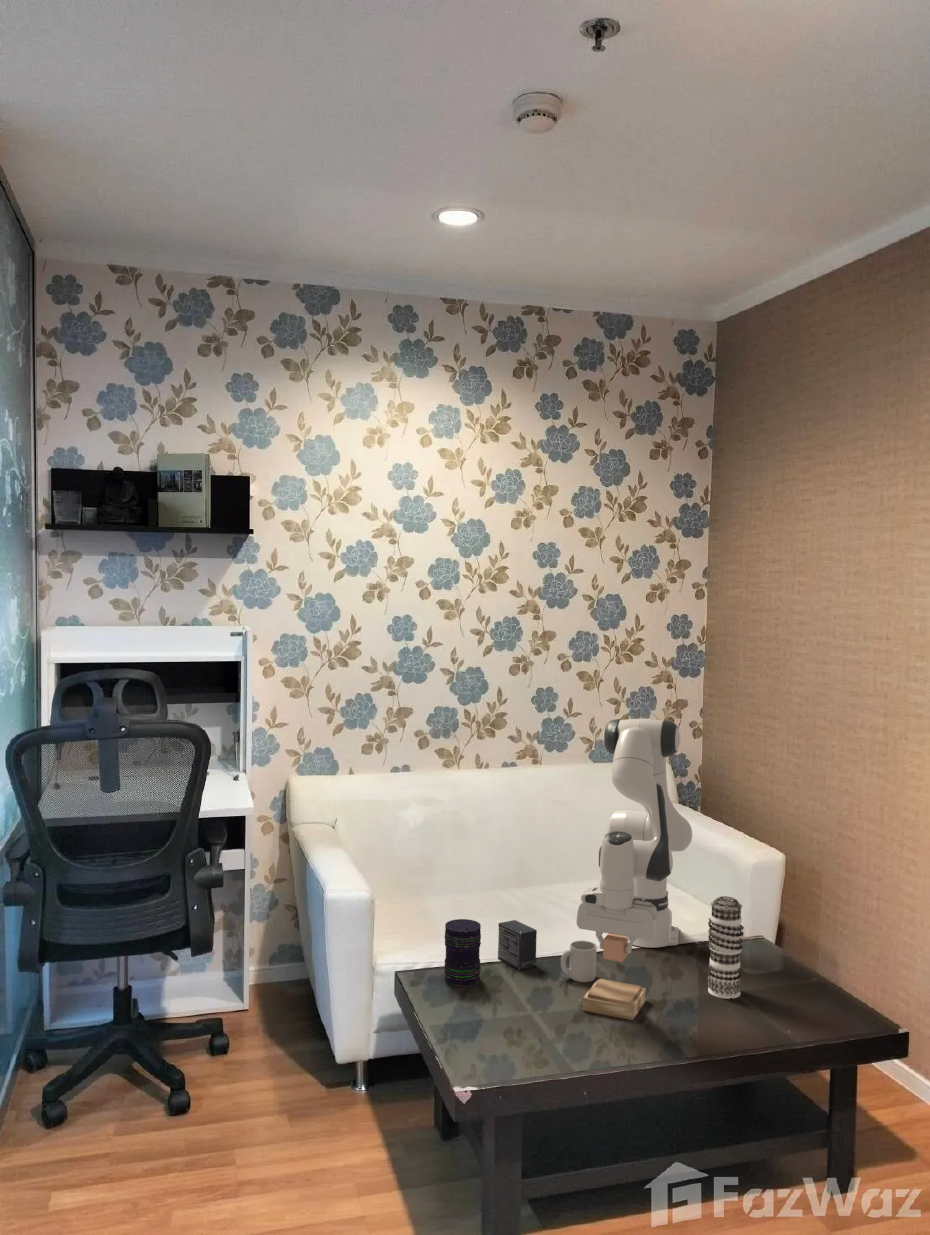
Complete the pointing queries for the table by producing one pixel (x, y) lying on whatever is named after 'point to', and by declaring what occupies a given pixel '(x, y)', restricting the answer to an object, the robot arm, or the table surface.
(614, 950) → the cube
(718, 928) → the decorative candle
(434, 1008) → the table surface
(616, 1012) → the plinth
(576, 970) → the cup
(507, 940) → the small box
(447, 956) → the storage jar
